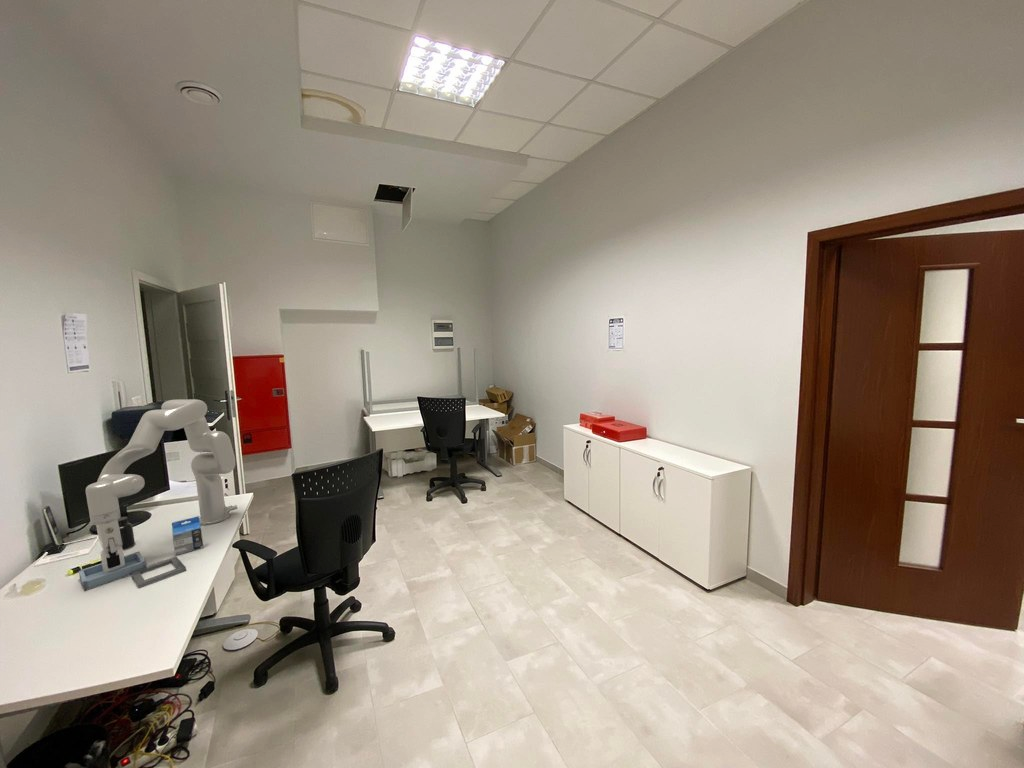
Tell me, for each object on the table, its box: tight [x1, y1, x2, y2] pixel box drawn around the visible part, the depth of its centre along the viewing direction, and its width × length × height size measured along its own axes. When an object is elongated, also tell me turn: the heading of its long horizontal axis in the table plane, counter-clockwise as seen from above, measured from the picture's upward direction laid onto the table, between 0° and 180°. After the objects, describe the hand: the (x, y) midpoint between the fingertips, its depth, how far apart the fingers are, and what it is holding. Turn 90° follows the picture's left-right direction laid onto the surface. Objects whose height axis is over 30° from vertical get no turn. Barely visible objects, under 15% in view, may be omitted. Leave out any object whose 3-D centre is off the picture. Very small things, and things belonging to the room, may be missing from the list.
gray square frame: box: [130, 555, 187, 589], centre depth 147 cm, size 13×13×1 cm
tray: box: [78, 551, 148, 592], centre depth 147 cm, size 16×12×3 cm
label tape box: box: [171, 516, 204, 556], centre depth 162 cm, size 9×4×12 cm, turn 130°
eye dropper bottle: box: [99, 542, 125, 573], centre depth 147 cm, size 4×6×12 cm
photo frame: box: [33, 535, 99, 568], centre depth 165 cm, size 15×1×18 cm
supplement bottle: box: [117, 516, 136, 551], centre depth 166 cm, size 7×7×12 cm
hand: (113, 564), depth 147 cm, fingers closed on eye dropper bottle, 3 cm apart
